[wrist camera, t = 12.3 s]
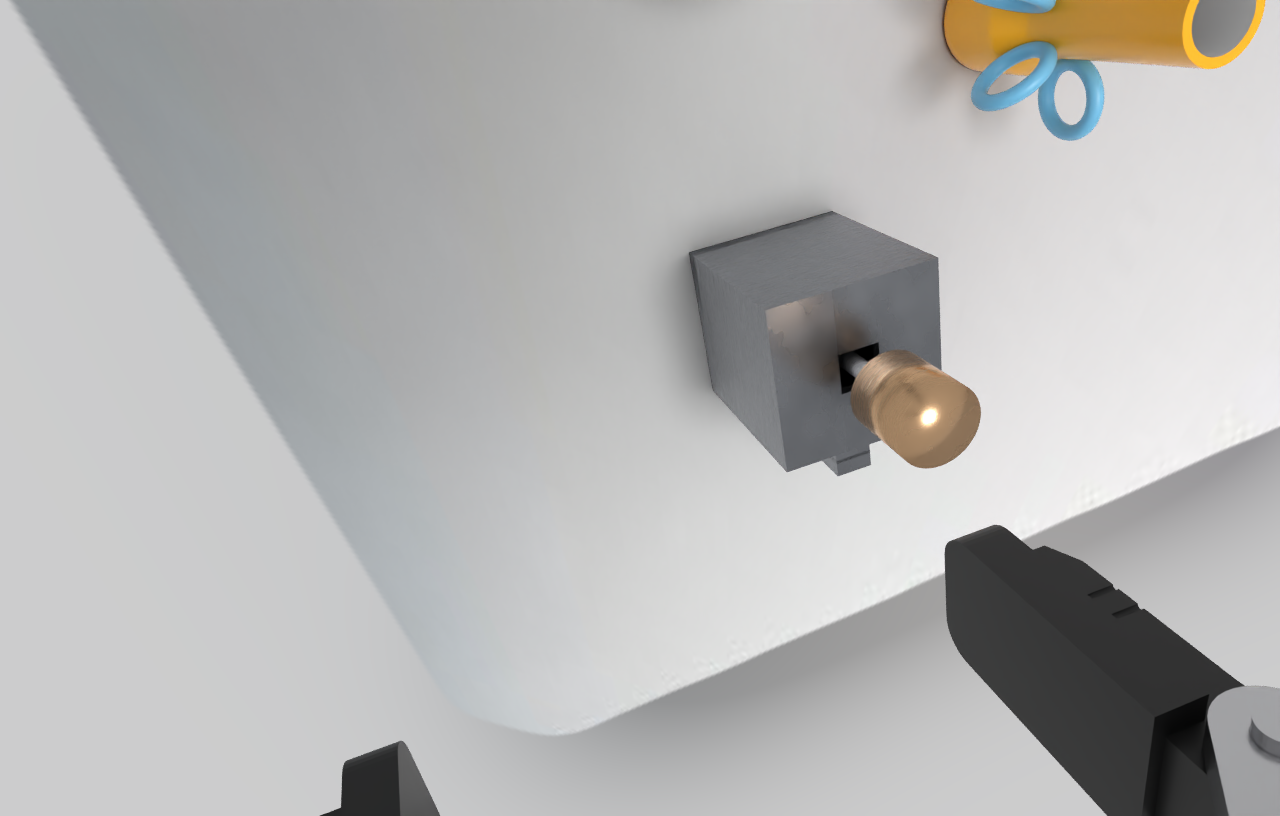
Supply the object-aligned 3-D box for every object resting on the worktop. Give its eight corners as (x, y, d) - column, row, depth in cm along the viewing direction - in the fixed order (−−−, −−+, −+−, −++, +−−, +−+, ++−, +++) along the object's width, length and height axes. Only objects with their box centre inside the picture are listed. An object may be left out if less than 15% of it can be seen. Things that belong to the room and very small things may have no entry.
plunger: (719, 273, 47) (859, 378, 34) (833, 239, 48) (1012, 328, 35) (737, 383, 50) (870, 519, 37) (843, 349, 52) (1010, 469, 38)
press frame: (689, 252, 48) (764, 310, 39) (832, 211, 50) (937, 257, 40) (719, 425, 54) (792, 511, 44) (847, 383, 55) (944, 458, 46)
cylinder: (954, 162, 51) (1157, 215, 38) (859, 25, 46) (1056, 32, 32) (1108, 4, 49) (1376, 3, 36) (1028, -155, 44) (1304, -224, 31)
